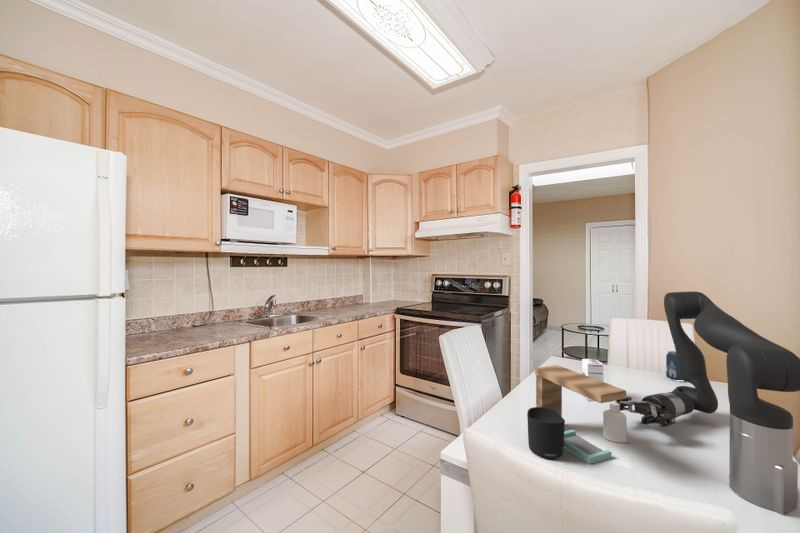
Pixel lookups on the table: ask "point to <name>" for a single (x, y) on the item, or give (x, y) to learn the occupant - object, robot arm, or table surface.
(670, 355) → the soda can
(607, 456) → the mint green tray
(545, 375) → the shelf
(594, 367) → the syrup box
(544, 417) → the pen holder
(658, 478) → the table surface
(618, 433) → the eye dropper bottle
